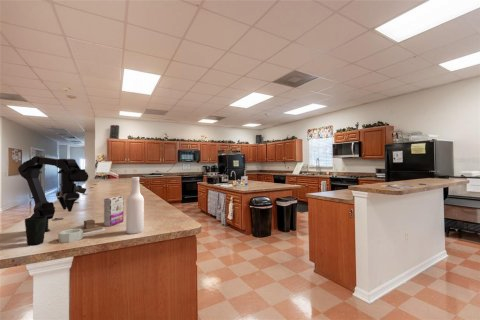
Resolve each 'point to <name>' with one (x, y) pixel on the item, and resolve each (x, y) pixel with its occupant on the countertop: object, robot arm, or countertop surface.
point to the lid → (90, 226)
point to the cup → (35, 230)
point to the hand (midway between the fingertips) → (67, 210)
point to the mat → (94, 231)
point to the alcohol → (135, 209)
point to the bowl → (70, 235)
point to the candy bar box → (113, 210)
